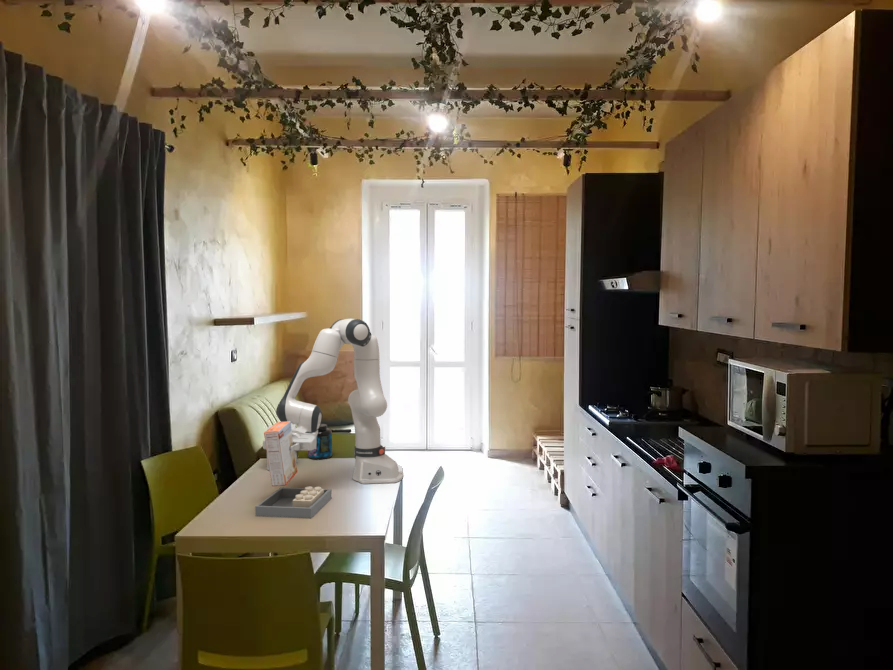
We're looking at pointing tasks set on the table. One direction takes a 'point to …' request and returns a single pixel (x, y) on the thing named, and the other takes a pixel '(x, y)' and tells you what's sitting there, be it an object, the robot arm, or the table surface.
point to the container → (322, 444)
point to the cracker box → (280, 453)
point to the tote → (289, 504)
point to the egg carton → (308, 496)
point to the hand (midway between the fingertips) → (281, 448)
